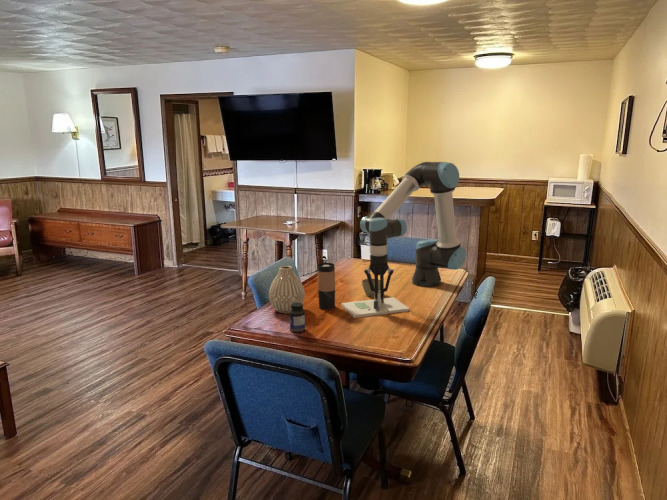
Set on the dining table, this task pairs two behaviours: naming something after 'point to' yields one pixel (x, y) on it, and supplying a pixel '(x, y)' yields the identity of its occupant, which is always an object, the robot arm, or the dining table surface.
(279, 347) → the dining table surface
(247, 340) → the dining table surface
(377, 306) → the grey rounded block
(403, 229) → the robot arm
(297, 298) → the vase
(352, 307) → the board
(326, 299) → the travel mug
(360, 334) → the dining table surface
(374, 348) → the dining table surface
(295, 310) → the pill bottle
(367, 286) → the flower pot
